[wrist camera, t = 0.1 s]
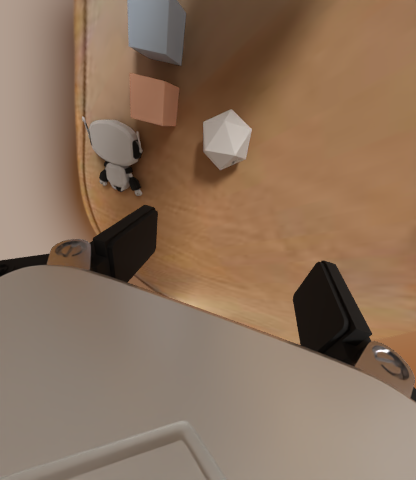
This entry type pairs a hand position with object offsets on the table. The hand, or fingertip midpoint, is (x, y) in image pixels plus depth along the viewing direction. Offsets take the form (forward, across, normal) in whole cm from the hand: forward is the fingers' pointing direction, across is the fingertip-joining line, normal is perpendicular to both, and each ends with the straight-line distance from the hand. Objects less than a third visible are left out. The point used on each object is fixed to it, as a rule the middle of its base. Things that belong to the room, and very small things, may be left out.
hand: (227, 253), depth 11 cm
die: (+31, +6, -3) cm, 32 cm away
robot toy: (+32, +29, +6) cm, 43 cm away
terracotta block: (+31, +20, -6) cm, 38 cm away
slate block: (+31, +20, -15) cm, 40 cm away
